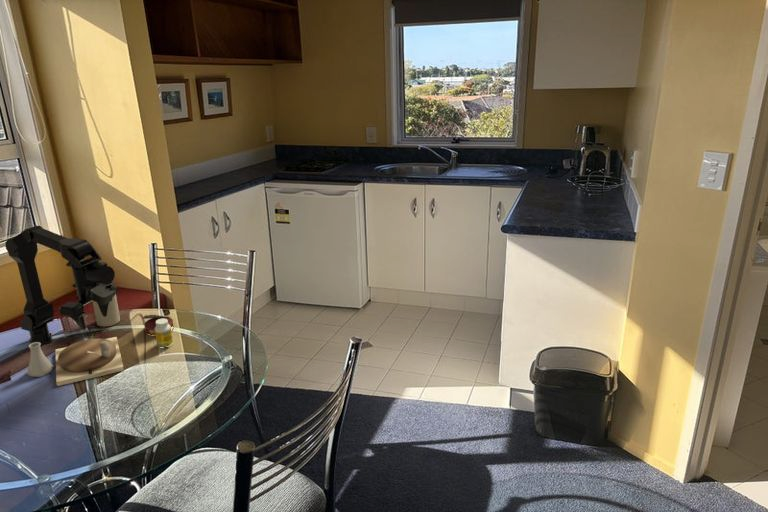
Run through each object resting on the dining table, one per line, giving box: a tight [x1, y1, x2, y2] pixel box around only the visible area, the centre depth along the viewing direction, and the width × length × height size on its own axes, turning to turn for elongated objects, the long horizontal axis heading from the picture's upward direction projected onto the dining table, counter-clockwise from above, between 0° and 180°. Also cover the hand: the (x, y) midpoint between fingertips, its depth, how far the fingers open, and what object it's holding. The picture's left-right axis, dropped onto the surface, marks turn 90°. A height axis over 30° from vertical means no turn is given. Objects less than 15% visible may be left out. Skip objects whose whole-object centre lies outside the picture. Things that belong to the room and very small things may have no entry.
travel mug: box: [92, 281, 121, 328], centre depth 205 cm, size 8×8×18 cm
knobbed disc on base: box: [58, 338, 117, 372], centre depth 182 cm, size 17×17×7 cm
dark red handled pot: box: [142, 314, 174, 335], centre depth 204 cm, size 11×10×10 cm
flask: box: [26, 342, 55, 378], centre depth 177 cm, size 7×7×10 cm
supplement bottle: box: [155, 318, 174, 348], centre depth 194 cm, size 5×5×10 cm
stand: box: [55, 336, 125, 387], centre depth 184 cm, size 21×19×2 cm
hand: (94, 322), depth 181 cm, fingers open, 9 cm apart
